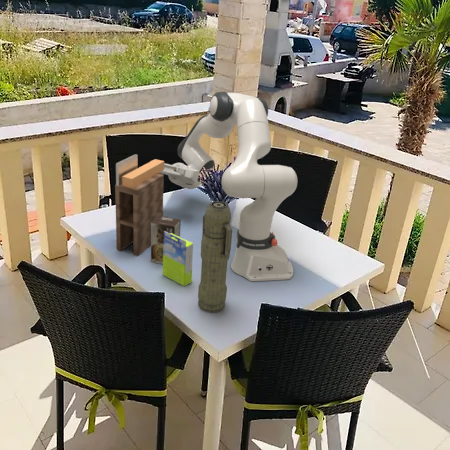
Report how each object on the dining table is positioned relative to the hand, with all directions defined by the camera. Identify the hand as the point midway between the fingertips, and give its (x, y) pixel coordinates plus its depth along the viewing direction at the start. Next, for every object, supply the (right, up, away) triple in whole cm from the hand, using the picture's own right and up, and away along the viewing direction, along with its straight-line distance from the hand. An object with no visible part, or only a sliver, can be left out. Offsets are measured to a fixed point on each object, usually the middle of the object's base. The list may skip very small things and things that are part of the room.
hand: (165, 166), depth 202 cm
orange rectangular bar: (-6, -6, -13) cm, 16 cm away
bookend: (-12, -7, -17) cm, 22 cm away
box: (+7, -41, -24) cm, 49 cm away
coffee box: (+2, -36, -14) cm, 38 cm away
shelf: (-9, -30, -4) cm, 31 cm away
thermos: (+19, -48, -37) cm, 63 cm away
